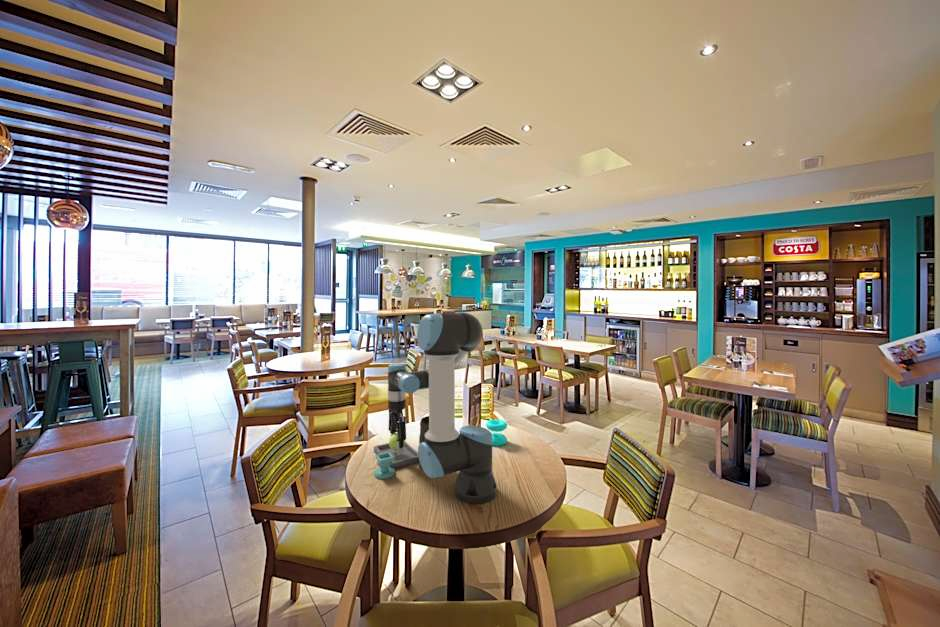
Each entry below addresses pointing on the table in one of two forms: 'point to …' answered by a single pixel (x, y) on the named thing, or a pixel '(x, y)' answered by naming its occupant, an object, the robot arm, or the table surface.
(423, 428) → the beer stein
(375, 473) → the goblet
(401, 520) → the table surface
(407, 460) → the tray
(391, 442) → the ball
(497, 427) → the donuts
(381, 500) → the table surface
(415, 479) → the table surface
